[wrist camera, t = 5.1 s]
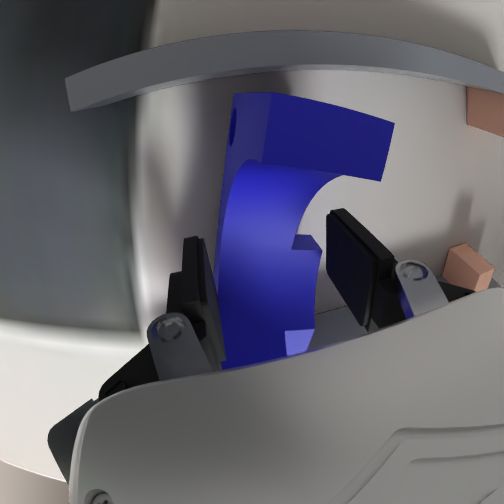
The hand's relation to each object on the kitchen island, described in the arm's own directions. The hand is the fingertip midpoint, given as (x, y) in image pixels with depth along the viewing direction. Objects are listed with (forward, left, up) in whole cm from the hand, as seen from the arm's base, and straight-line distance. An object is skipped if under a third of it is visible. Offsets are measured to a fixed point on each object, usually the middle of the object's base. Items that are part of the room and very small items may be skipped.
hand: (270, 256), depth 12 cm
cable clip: (0, 0, -2) cm, 2 cm away
